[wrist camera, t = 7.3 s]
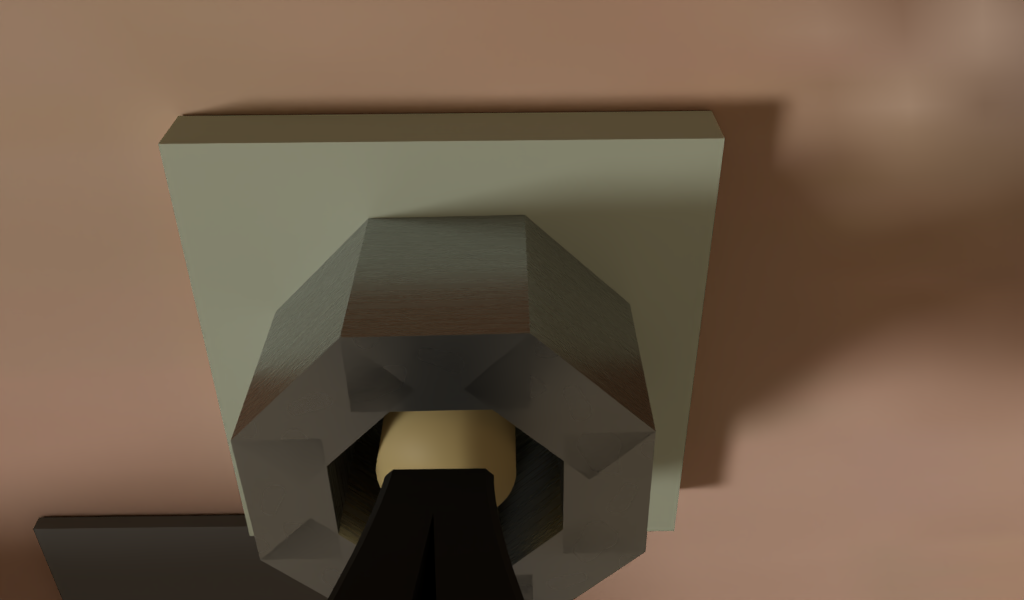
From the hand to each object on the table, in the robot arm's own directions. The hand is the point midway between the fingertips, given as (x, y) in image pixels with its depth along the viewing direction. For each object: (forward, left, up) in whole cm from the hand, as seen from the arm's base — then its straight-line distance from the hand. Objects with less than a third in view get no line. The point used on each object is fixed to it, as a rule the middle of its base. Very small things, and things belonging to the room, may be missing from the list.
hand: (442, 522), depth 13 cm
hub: (0, 0, -4) cm, 4 cm away
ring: (0, 0, -3) cm, 3 cm away
